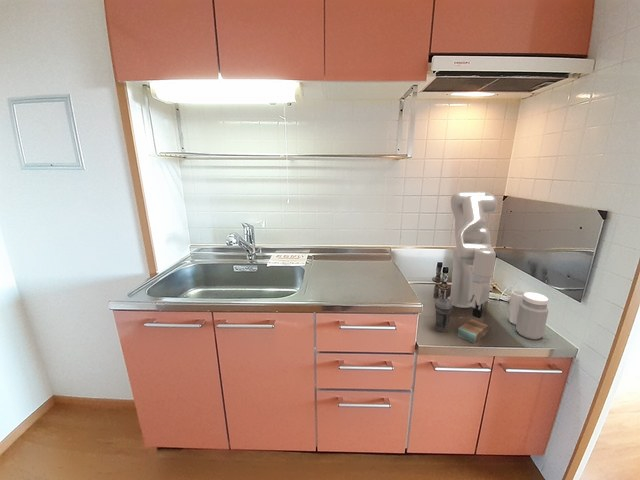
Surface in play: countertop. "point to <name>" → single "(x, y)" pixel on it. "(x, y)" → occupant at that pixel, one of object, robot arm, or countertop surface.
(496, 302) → the countertop surface
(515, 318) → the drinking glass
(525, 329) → the jar
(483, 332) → the wooden block
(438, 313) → the beverage cup
